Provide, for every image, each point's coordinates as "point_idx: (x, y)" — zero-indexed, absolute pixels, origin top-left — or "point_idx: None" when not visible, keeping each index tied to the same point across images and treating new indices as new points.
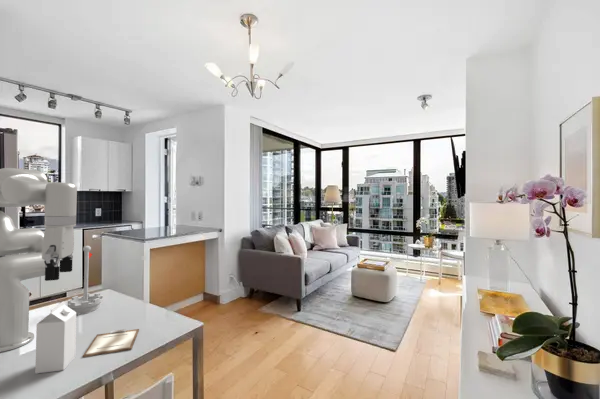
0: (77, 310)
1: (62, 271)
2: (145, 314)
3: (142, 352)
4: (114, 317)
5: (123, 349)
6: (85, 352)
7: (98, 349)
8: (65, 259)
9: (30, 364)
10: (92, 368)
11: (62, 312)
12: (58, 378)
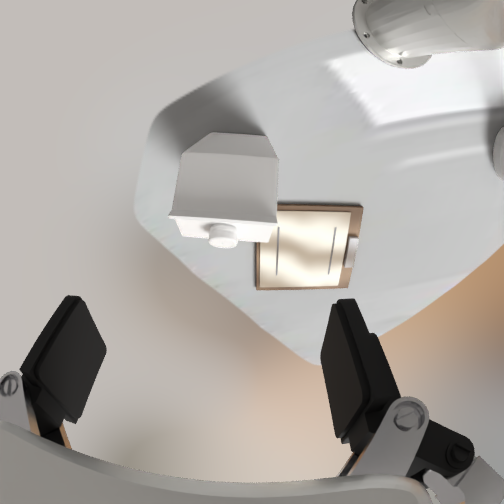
0: (500, 142)
1: (329, 319)
2: (423, 281)
3: (238, 305)
4: (444, 222)
5: (256, 277)
6: None
7: (272, 232)
8: (359, 428)
9: (263, 101)
10: None
11: (210, 229)
12: None
